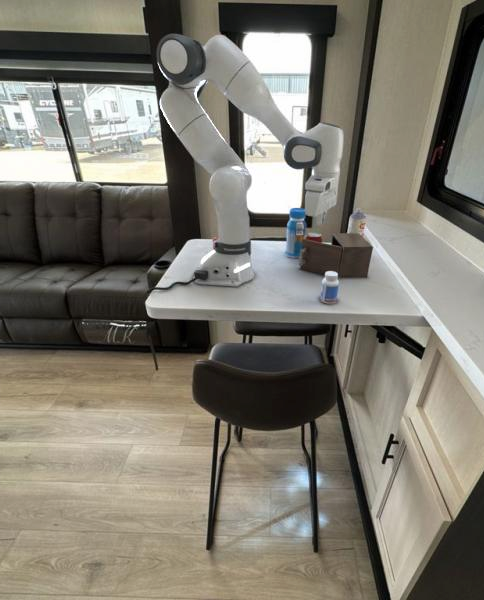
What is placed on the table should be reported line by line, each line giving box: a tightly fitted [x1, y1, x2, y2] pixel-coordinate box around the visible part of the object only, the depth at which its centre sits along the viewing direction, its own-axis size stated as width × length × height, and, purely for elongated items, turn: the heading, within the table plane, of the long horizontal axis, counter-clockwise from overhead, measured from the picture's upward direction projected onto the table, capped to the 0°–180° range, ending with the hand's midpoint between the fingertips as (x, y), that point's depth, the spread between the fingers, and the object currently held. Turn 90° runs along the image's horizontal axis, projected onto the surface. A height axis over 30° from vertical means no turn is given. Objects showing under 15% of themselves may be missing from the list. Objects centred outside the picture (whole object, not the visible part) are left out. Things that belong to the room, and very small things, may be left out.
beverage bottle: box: [285, 207, 307, 259], centre depth 131 cm, size 8×8×20 cm
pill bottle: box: [320, 271, 340, 305], centre depth 99 cm, size 6×5×10 cm
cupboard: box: [330, 232, 374, 279], centre depth 121 cm, size 11×16×13 cm
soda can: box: [305, 231, 323, 243], centre depth 126 cm, size 7×7×12 cm
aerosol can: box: [346, 207, 367, 238], centre depth 135 cm, size 7×7×20 cm
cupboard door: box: [298, 238, 343, 276], centre depth 115 cm, size 5×16×12 cm, turn 60°
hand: (320, 223), depth 105 cm, fingers closed
